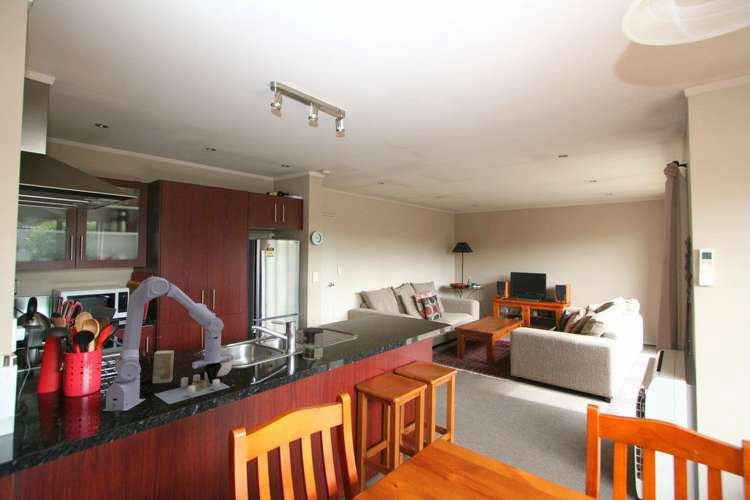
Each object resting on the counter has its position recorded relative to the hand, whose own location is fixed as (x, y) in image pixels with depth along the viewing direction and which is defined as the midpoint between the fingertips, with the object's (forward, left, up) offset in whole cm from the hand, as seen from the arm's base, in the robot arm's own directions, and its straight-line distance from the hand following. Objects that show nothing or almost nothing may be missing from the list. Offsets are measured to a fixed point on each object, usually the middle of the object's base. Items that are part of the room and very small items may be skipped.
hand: (211, 382), depth 141 cm
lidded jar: (+14, +3, -2) cm, 14 cm away
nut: (-4, +3, -1) cm, 5 cm away
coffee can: (+45, -31, -2) cm, 54 cm away
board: (-5, +4, -2) cm, 7 cm away
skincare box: (+4, +21, -2) cm, 22 cm away
